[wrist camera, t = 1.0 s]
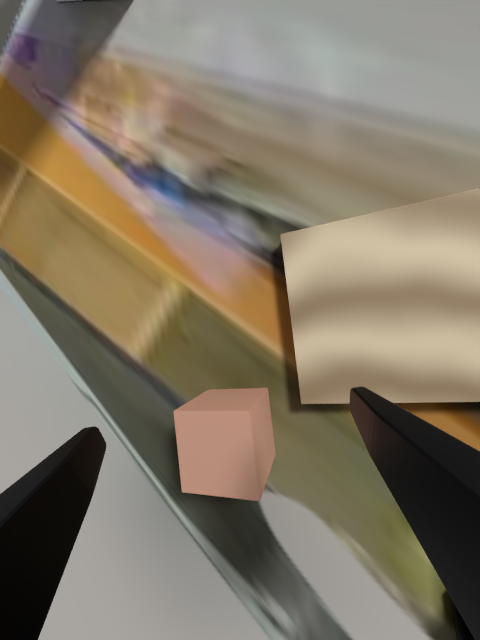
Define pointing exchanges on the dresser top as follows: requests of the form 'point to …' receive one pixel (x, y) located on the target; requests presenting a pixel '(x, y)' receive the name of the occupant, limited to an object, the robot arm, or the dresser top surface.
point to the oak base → (389, 303)
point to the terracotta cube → (225, 443)
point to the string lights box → (66, 0)
